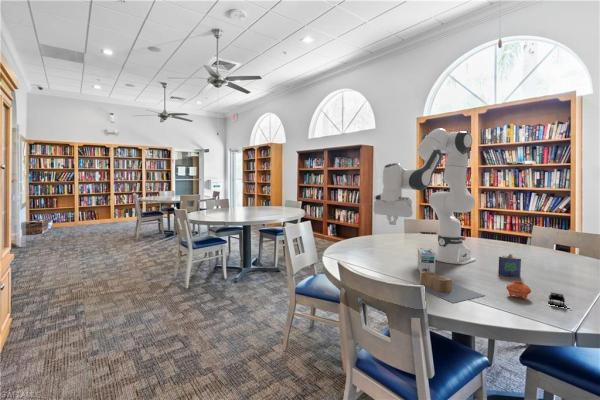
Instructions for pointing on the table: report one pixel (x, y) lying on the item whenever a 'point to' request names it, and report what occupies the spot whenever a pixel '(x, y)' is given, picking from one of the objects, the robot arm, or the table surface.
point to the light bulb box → (426, 260)
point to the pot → (518, 289)
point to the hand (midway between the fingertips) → (392, 224)
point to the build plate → (559, 298)
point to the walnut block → (436, 281)
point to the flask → (509, 266)
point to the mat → (455, 294)
